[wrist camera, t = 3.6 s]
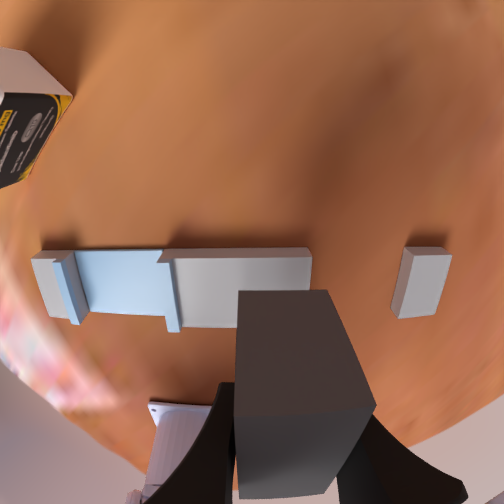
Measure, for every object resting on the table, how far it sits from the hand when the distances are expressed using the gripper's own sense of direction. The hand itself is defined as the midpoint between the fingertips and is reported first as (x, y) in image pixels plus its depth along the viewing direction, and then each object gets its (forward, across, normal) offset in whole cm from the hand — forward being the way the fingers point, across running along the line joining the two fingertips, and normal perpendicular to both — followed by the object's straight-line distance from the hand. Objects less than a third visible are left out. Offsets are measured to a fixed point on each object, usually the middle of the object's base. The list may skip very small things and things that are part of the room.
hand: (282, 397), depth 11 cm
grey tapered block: (+3, 0, 0) cm, 3 cm away
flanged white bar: (+9, +2, 0) cm, 10 cm away
